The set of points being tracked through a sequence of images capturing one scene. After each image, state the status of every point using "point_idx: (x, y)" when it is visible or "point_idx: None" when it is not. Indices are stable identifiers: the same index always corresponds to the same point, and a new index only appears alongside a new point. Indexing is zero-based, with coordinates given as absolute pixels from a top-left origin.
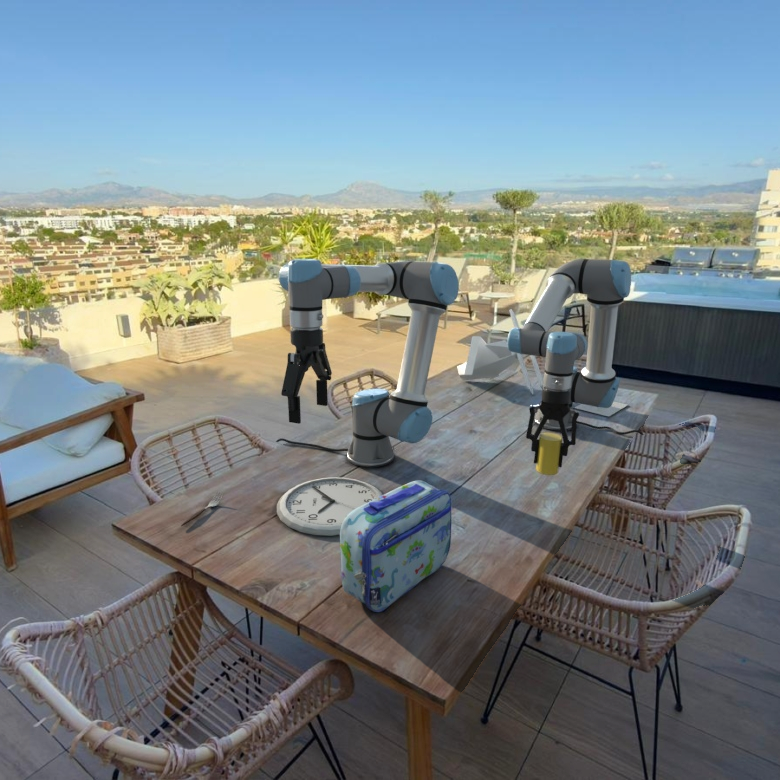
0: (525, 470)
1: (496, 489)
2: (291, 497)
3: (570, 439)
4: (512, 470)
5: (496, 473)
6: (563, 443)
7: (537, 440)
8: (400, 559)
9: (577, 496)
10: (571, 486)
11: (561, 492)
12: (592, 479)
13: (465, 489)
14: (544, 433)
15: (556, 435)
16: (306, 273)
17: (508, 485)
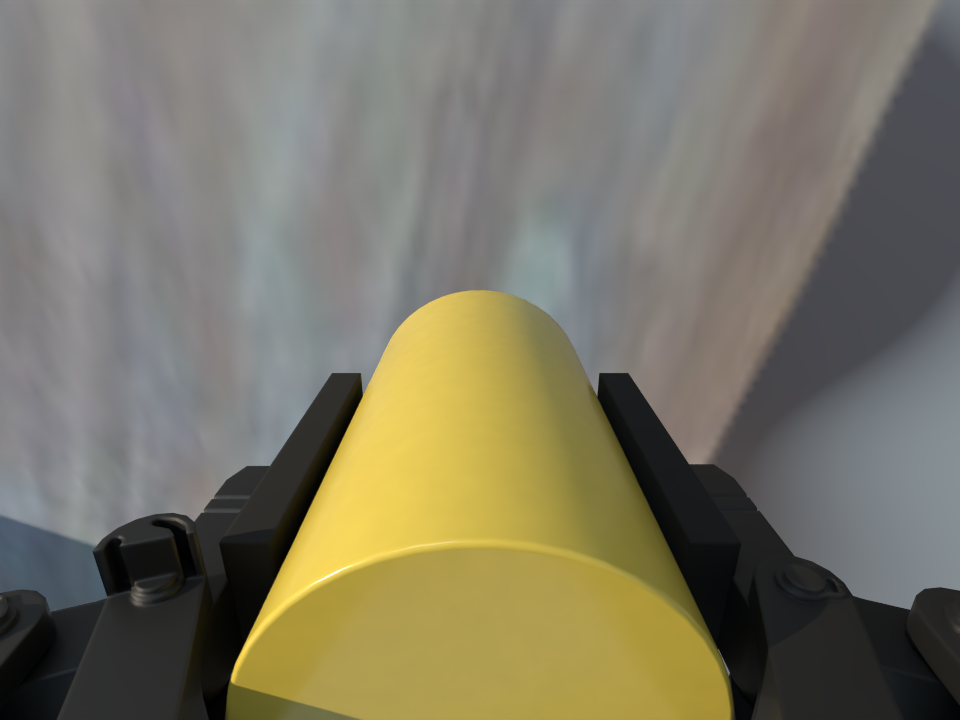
0: (286, 69)
1: (184, 472)
2: None
3: (913, 686)
4: (182, 118)
5: (87, 234)
6: (721, 564)
7: (246, 592)
8: None
9: (697, 384)
10: (673, 245)
11: (593, 366)
12: (880, 27)
13: (19, 532)
14: (307, 642)
15: (609, 659)
16: None
17: (236, 395)
